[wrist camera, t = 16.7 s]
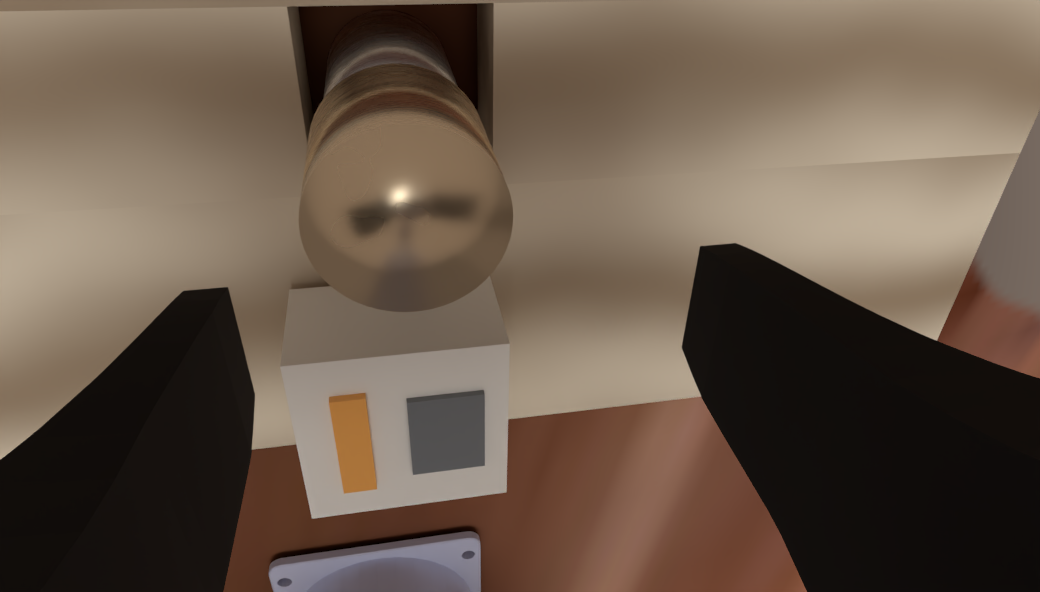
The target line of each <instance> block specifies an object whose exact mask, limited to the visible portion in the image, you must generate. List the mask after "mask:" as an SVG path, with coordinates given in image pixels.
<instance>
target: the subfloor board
mask: <svg viewBox="0 0 1040 592" xmlns="http://www.w3.org/2000/svg"><path fill="white" fill-rule="evenodd" d="M466 3H477V73H478V114H479V117H480V119H481V122H482V124H483V127H484V129H485V132H486V134H487V137H488V139H489V142H490V144H491V147H492V149H493V152H494V154H495V157H496V159H497V162H498V164H499V167H500V169H501V172H502V174H503V177H504V179H505V182H506V184H507V187H508V189H509V192H510V196H511V200H512V206H513V228H512V233H511V238H510V241H509V244H508V247H507V249H506V252H505V254H504V256H503V258H502V259H501V261H500V263H499V264H498V266H497V267H496V269H495V270H494V271H493V272H492V274H491V275H490V278H491V281H492V285H493V288H494V292H495V295H496V298H497V302H498V305H499V309H500V312H501V315H502V319H503V322H504V326H505V329H506V332H507V336H508V339H509V343H510V357H509V402H508V419H515V418H523V417H532V416H540V415H549V414H557V413H566V412H574V411H583V410H591V409H600V408H608V407H616V406H625V405H633V404H642V403H650V402H659V401H667V400H676V399H684V398H693V397H701V394H700V392H699V390H698V387H697V385H696V383H695V380H694V378H693V376H692V373H691V371H690V368H689V365H688V363H687V360H686V358H685V355H684V352H683V350H682V342H683V336H684V331H685V326H686V320H687V315H688V309H689V304H690V298H691V293H692V287H693V282H694V276H695V271H696V265H697V260H698V255H699V249H700V246H708V245H719V244H731V243H737V244H739V245H742V246H744V247H747V248H749V249H751V250H753V251H756V252H758V253H760V254H762V255H764V256H766V257H768V258H770V259H772V260H774V261H776V262H778V263H780V264H781V265H783V266H785V267H787V268H789V269H791V270H793V271H795V272H797V273H799V274H800V275H802V276H804V277H806V278H808V279H810V280H812V281H814V282H816V283H818V284H819V285H821V286H823V287H825V288H827V289H829V290H831V291H833V292H835V293H837V294H839V295H840V296H842V297H844V298H846V299H848V300H850V301H852V302H854V303H856V304H858V305H860V306H862V307H864V308H866V309H868V310H870V311H872V312H874V313H876V314H878V315H881V316H883V317H885V318H887V319H889V320H891V321H894V322H896V323H898V324H900V325H902V326H904V327H906V328H909V329H911V330H913V331H915V332H917V333H920V334H922V335H924V336H926V337H929V338H931V339H934V340H936V341H937V339H938V337H939V334H940V332H941V330H942V328H943V326H944V323H945V321H946V319H947V317H948V314H949V312H950V310H951V308H952V305H953V303H954V301H955V299H956V296H957V294H958V292H959V290H960V287H961V285H962V283H963V281H964V278H965V276H966V274H967V272H968V269H969V267H970V265H971V263H972V260H973V258H974V256H975V254H976V251H977V249H978V247H979V245H980V242H981V240H982V238H983V236H984V233H985V231H986V229H987V226H988V224H989V222H990V220H991V218H992V215H993V213H994V211H995V209H996V206H997V204H998V202H999V200H1000V197H1001V195H1002V193H1003V191H1004V188H1005V186H1006V184H1007V182H1008V180H1009V177H1010V175H1011V173H1012V170H1013V168H1014V166H1015V164H1016V161H1017V159H1018V157H1019V155H1020V153H1021V150H1022V148H1023V146H1024V144H1025V141H1026V139H1027V137H1028V135H1029V132H1030V130H1031V128H1032V126H1033V123H1034V121H1035V119H1036V117H1037V114H1038V112H1039V110H1040V0H0V459H2V458H3V457H4V456H6V455H7V454H8V453H10V452H11V451H12V450H13V449H15V448H16V447H17V446H18V445H20V444H21V443H22V442H23V441H25V440H26V439H27V438H28V437H30V436H31V435H32V434H33V433H34V432H36V431H37V430H38V429H39V428H40V427H42V426H43V425H44V424H45V423H46V422H47V421H48V420H49V419H51V418H52V417H53V416H54V415H55V414H56V413H57V412H58V411H59V410H61V409H62V408H63V407H64V406H65V405H66V404H67V403H68V402H70V401H71V400H72V399H73V398H74V397H75V396H76V395H77V394H78V393H80V392H81V391H82V390H83V389H84V388H85V387H86V386H87V385H89V384H90V383H91V382H92V381H93V380H94V379H95V378H96V377H97V376H98V375H99V374H101V373H102V372H103V371H104V370H105V369H106V368H107V367H108V366H109V365H110V364H111V363H112V362H113V361H114V360H115V359H116V358H117V357H118V356H119V355H120V354H121V353H122V352H123V351H124V350H125V349H126V348H127V347H128V346H129V345H130V344H131V343H132V342H133V341H134V340H135V339H136V338H137V337H138V336H139V335H140V334H141V333H142V332H143V331H144V330H145V329H146V328H147V327H148V326H149V325H150V323H151V322H152V321H153V320H154V319H155V318H156V317H157V316H158V315H159V314H160V313H161V312H162V311H163V310H164V309H165V308H166V307H167V306H168V305H169V304H170V303H171V302H172V301H173V300H174V299H175V298H176V297H177V296H178V295H179V294H180V293H181V292H183V291H187V290H198V289H210V288H222V287H228V289H229V293H230V297H231V301H232V305H233V309H234V313H235V317H236V321H237V325H238V328H239V332H240V336H241V340H242V344H243V348H244V352H245V356H246V360H247V364H248V368H249V372H250V376H251V380H252V384H253V388H254V392H255V406H254V424H253V439H252V450H253V449H261V448H270V447H278V446H286V445H295V444H296V440H295V435H294V431H293V426H292V421H291V416H290V412H289V407H288V402H287V397H286V393H285V388H284V383H283V378H282V374H281V369H280V363H281V354H282V346H283V338H284V330H285V322H286V314H287V306H288V298H289V289H301V288H313V287H326V286H330V285H329V284H328V283H327V282H326V281H325V280H324V279H323V278H322V277H321V276H320V275H319V274H318V272H317V271H316V270H315V268H314V267H313V265H312V264H311V262H310V261H309V259H308V257H307V254H306V252H305V250H304V248H303V244H302V241H301V237H300V231H299V206H300V198H301V191H302V183H303V175H304V168H305V160H306V152H307V145H308V137H309V131H310V126H311V123H312V120H313V117H314V116H313V109H312V102H311V95H310V87H309V80H308V73H307V66H306V59H305V52H304V45H303V38H302V31H301V23H300V16H299V9H298V6H348V5H407V4H466Z"/></svg>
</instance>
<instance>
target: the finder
mask: <svg viewBox="0 0 1040 592" xmlns="http://www.w3.org/2000/svg"><path fill="white" fill-rule="evenodd" d="M509 357H510V343H509V339H508V336H507V332H506V329H505V326H504V322H503V319H502V315H501V312H500V309H499V305H498V302H497V298H496V295H495V292H494V288H493V285H492V281H491V278H490V276H489V277H488V278H487V279H486V280H485V281H484V282H483V283H482V284H481V285H479V286H478V287H477V288H476V289H474V290H473V291H471V292H470V293H469V294H467V295H466V296H464V297H462V298H460V299H458V300H456V301H454V302H452V303H449V304H447V305H444V306H441V307H437V308H434V309H430V310H424V311H417V312H392V311H385V310H379V309H375V308H372V307H368V306H365V305H362V304H360V303H357V302H355V301H353V300H351V299H349V298H347V297H345V296H344V295H342V294H341V293H339V292H338V291H336V290H335V289H334V288H332V287H331V286H326V287H313V288H301V289H289V298H288V306H287V314H286V322H285V330H284V338H283V346H282V354H281V363H280V369H281V374H282V378H283V383H284V388H285V393H286V397H287V402H288V407H289V412H290V416H291V421H292V426H293V431H294V435H295V440H296V445H297V450H298V454H299V459H300V464H301V469H302V473H303V478H304V483H305V488H306V492H307V497H308V502H309V507H310V511H311V516H312V519H314V518H321V517H328V516H336V515H343V514H351V513H358V512H365V511H373V510H380V509H387V508H395V507H402V506H409V505H417V504H424V503H431V502H439V501H446V500H454V499H461V498H468V497H476V496H483V495H490V494H498V493H505V492H506V491H507V446H508V402H509Z"/></svg>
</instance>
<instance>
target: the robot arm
mask: <svg viewBox="0 0 1040 592" xmlns="http://www.w3.org/2000/svg"><path fill="white" fill-rule="evenodd" d="M682 350H683V352H684V355H685V358H686V360H687V363H688V365H689V368H690V371H691V373H692V376H693V378H694V380H695V383H696V385H697V387H698V390H699V392H700V394H701V397H702V399H703V401H704V402H705V404H706V406H707V408H708V410H709V411H710V413H711V415H712V417H713V418H714V420H715V422H716V423H717V425H718V427H719V429H720V430H721V432H722V434H723V435H724V437H725V439H726V440H727V442H728V444H729V446H730V447H731V449H732V451H733V452H734V454H735V456H736V457H737V459H738V461H739V462H740V464H741V466H742V467H743V469H744V471H745V472H746V474H747V476H748V477H749V479H750V481H751V482H752V484H753V486H754V487H755V489H756V491H757V492H758V494H759V496H760V498H761V499H762V501H763V503H764V504H765V506H766V508H767V509H768V511H769V513H770V515H771V517H772V519H773V520H774V522H775V524H776V526H777V528H778V530H779V532H780V534H781V536H782V538H783V540H784V542H785V544H786V546H787V549H788V551H789V553H790V555H791V557H792V560H793V562H794V564H795V566H796V568H797V570H798V573H799V575H800V577H801V579H802V581H803V584H804V586H805V588H806V590H807V592H1040V379H1039V378H1036V377H1033V376H1030V375H1027V374H1024V373H1021V372H1018V371H1015V370H1012V369H1009V368H1006V367H1003V366H1000V365H998V364H995V363H992V362H989V361H987V360H984V359H982V358H979V357H976V356H974V355H971V354H969V353H966V352H964V351H961V350H958V349H956V348H953V347H951V346H948V345H945V344H943V343H941V342H938V341H936V340H934V339H931V338H929V337H926V336H924V335H922V334H920V333H917V332H915V331H913V330H911V329H909V328H906V327H904V326H902V325H900V324H898V323H896V322H894V321H891V320H889V319H887V318H885V317H883V316H881V315H878V314H876V313H874V312H872V311H870V310H868V309H866V308H864V307H862V306H860V305H858V304H856V303H854V302H852V301H850V300H848V299H846V298H844V297H842V296H840V295H839V294H837V293H835V292H833V291H831V290H829V289H827V288H825V287H823V286H821V285H819V284H818V283H816V282H814V281H812V280H810V279H808V278H806V277H804V276H802V275H800V274H799V273H797V272H795V271H793V270H791V269H789V268H787V267H785V266H783V265H781V264H780V263H778V262H776V261H774V260H772V259H770V258H768V257H766V256H764V255H762V254H760V253H758V252H756V251H753V250H751V249H749V248H747V247H744V246H742V245H739V244H737V243H731V244H719V245H708V246H700V249H699V255H698V260H697V265H696V271H695V276H694V282H693V287H692V293H691V298H690V304H689V309H688V315H687V320H686V326H685V331H684V336H683V342H682ZM254 406H255V392H254V388H253V384H252V380H251V376H250V372H249V368H248V364H247V360H246V356H245V352H244V348H243V344H242V340H241V336H240V332H239V328H238V325H237V321H236V317H235V313H234V309H233V305H232V301H231V297H230V293H229V289H228V287H222V288H210V289H198V290H187V291H183V292H181V293H180V294H179V295H178V296H177V297H176V298H175V299H174V300H173V301H172V302H171V303H170V304H169V305H168V306H167V307H166V308H165V309H164V310H163V311H162V312H161V313H160V314H159V315H158V316H157V317H156V318H155V319H154V320H153V321H152V322H151V323H150V325H149V326H148V327H147V328H146V329H145V330H144V331H143V332H142V333H141V334H140V335H139V336H138V337H137V338H136V339H135V340H134V341H133V342H132V343H131V344H130V345H129V346H128V347H127V348H126V349H125V350H124V351H123V352H122V353H121V354H120V355H119V356H118V357H117V358H116V359H115V360H114V361H113V362H112V363H111V364H110V365H109V366H108V367H107V368H106V369H105V370H104V371H103V372H102V373H101V374H99V375H98V376H97V377H96V378H95V379H94V380H93V381H92V382H91V383H90V384H89V385H87V386H86V387H85V388H84V389H83V390H82V391H81V392H80V393H78V394H77V395H76V396H75V397H74V398H73V399H72V400H71V401H70V402H68V403H67V404H66V405H65V406H64V407H63V408H62V409H61V410H59V411H58V412H57V413H56V414H55V415H54V416H53V417H52V418H51V419H49V420H48V421H47V422H46V423H45V424H44V425H43V426H42V427H40V428H39V429H38V430H37V431H36V432H34V433H33V434H32V435H31V436H30V437H28V438H27V439H26V440H25V441H23V442H22V443H21V444H20V445H18V446H17V447H16V448H15V449H13V450H12V451H11V452H10V453H8V454H7V455H6V456H4V457H3V458H2V459H0V592H223V590H224V585H225V581H226V576H227V571H228V566H229V561H230V557H231V552H232V547H233V542H234V537H235V533H236V528H237V523H238V518H239V513H240V509H241V504H242V499H243V494H244V489H245V484H246V479H247V474H248V469H249V464H250V459H251V452H252V439H253V424H254ZM269 578H270V581H271V585H272V589H273V592H481V544H480V538H479V535H478V534H477V533H475V532H472V531H465V532H458V533H451V534H444V535H437V536H430V537H423V538H416V539H410V540H403V541H396V542H389V543H382V544H375V545H368V546H361V547H354V548H347V549H340V550H333V551H326V552H319V553H312V554H305V555H298V556H291V557H284V558H279V559H276V560H275V561H273V562H272V563H271V564H270V567H269Z"/></svg>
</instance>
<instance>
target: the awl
mask: <svg viewBox="0 0 1040 592" xmlns="http://www.w3.org/2000/svg"><path fill="white" fill-rule="evenodd" d="M512 228H513V206H512V200H511V196H510V192H509V189H508V187H507V184H506V182H505V179H504V177H503V174H502V172H501V169H500V167H499V164H498V162H497V159H496V157H495V154H494V152H493V149H492V147H491V144H490V142H489V139H488V137H487V134H486V132H485V129H484V127H483V124H482V122H481V119H480V117H479V114H478V112H477V110H476V109H475V107H474V105H473V103H472V102H471V101H470V99H469V98H468V97H467V96H466V94H465V93H464V92H463V91H462V90H461V89H460V88H459V87H458V86H457V83H456V81H455V78H454V75H453V73H452V70H451V67H450V64H449V62H448V59H447V56H446V53H445V51H444V49H443V46H442V44H441V43H440V41H439V39H438V38H437V36H436V35H435V34H434V32H433V31H432V30H431V29H430V28H429V27H428V26H427V25H425V24H424V23H423V22H422V21H420V20H418V19H417V18H415V17H413V16H411V15H409V14H406V13H403V12H399V11H393V10H377V11H371V12H367V13H364V14H362V15H360V16H357V17H356V18H354V19H352V20H351V21H350V22H348V23H347V24H346V25H345V26H344V27H343V28H342V29H341V30H340V31H339V32H338V34H337V35H336V37H335V38H334V40H333V42H332V44H331V47H330V50H329V53H328V58H327V67H326V77H325V87H324V98H323V100H322V102H321V103H320V104H319V106H318V108H317V110H316V112H315V114H314V117H313V120H312V123H311V126H310V131H309V137H308V145H307V152H306V160H305V168H304V175H303V183H302V191H301V198H300V206H299V231H300V237H301V241H302V244H303V248H304V250H305V252H306V254H307V257H308V259H309V261H310V262H311V264H312V265H313V267H314V268H315V270H316V271H317V272H318V274H319V275H320V276H321V277H322V278H323V279H324V280H325V281H326V282H327V283H328V284H329V285H330V286H331V287H332V288H334V289H335V290H336V291H338V292H339V293H341V294H342V295H344V296H345V297H347V298H349V299H351V300H353V301H355V302H357V303H360V304H362V305H365V306H368V307H372V308H375V309H379V310H385V311H392V312H417V311H424V310H430V309H434V308H437V307H441V306H444V305H447V304H449V303H452V302H454V301H456V300H458V299H460V298H462V297H464V296H466V295H467V294H469V293H470V292H471V291H473V290H474V289H476V288H477V287H478V286H479V285H481V284H482V283H483V282H484V281H485V280H486V279H487V278H488V277H489V276H490V275H491V274H492V272H493V271H494V270H495V269H496V267H497V266H498V264H499V263H500V261H501V259H502V258H503V256H504V254H505V252H506V249H507V247H508V244H509V241H510V238H511V233H512Z"/></svg>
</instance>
